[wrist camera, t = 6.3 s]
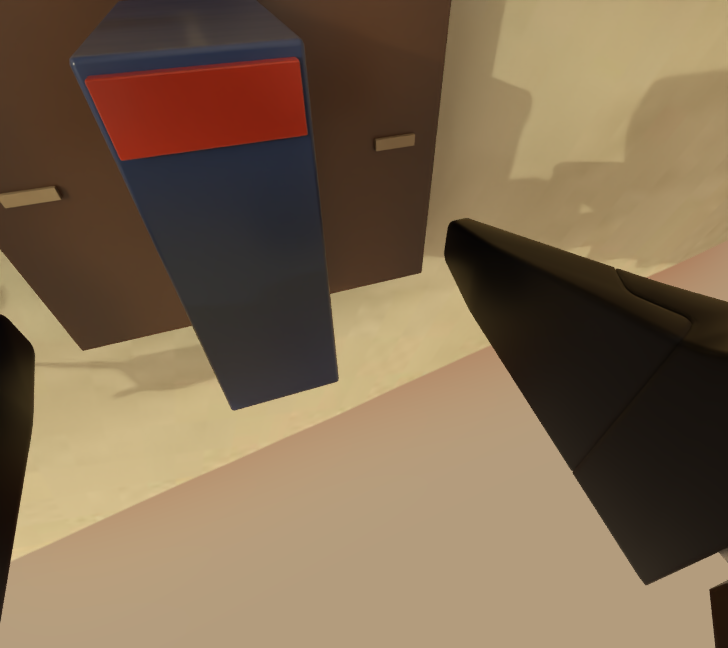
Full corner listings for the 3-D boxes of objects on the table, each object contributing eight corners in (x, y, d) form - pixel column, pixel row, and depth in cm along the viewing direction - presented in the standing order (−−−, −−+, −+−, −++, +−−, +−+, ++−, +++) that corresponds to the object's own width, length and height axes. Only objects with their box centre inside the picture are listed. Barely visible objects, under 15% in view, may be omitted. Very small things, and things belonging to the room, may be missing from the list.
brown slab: (94, 303, 17) (83, 356, 15) (-202, -130, 8) (-334, -151, 6) (396, 240, 20) (423, 276, 18) (415, -126, 11) (470, -139, 9)
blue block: (296, 262, 15) (342, 389, 11) (216, 279, 14) (232, 419, 10) (250, -8, 9) (308, 41, 5) (115, 0, 9) (60, 62, 5)
